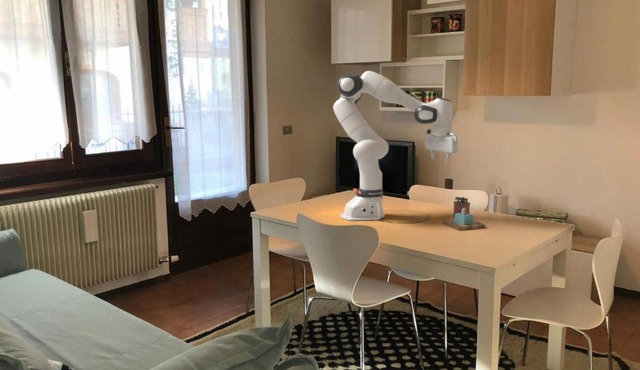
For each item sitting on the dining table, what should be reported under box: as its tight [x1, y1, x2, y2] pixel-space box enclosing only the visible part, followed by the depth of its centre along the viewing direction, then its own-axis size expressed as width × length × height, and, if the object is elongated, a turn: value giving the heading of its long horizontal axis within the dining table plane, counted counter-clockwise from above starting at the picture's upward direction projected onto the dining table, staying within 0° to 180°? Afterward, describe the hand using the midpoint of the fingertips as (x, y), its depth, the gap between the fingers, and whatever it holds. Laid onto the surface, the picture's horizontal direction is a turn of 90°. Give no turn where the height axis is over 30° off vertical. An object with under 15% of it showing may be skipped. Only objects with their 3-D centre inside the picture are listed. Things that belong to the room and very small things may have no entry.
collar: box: [454, 212, 474, 225], centre depth 263 cm, size 6×6×4 cm
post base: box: [442, 208, 486, 231], centre depth 263 cm, size 14×14×8 cm
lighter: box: [452, 196, 471, 218], centre depth 281 cm, size 8×3×10 cm, turn 65°
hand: (440, 160), depth 275 cm, fingers open, 8 cm apart
